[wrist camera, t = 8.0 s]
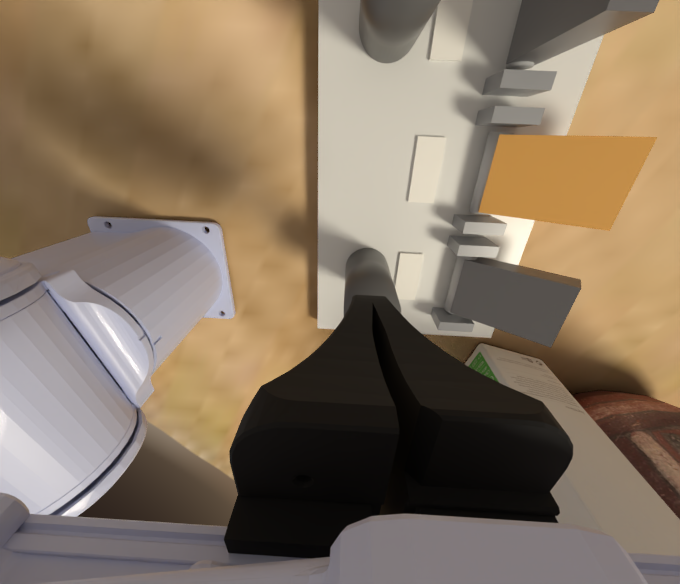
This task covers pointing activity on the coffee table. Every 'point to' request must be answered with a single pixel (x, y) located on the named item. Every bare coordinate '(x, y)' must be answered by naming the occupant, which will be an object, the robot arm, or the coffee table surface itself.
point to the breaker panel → (422, 146)
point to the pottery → (641, 436)
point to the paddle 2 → (567, 26)
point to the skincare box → (588, 462)
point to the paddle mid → (558, 177)
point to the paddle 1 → (511, 297)
